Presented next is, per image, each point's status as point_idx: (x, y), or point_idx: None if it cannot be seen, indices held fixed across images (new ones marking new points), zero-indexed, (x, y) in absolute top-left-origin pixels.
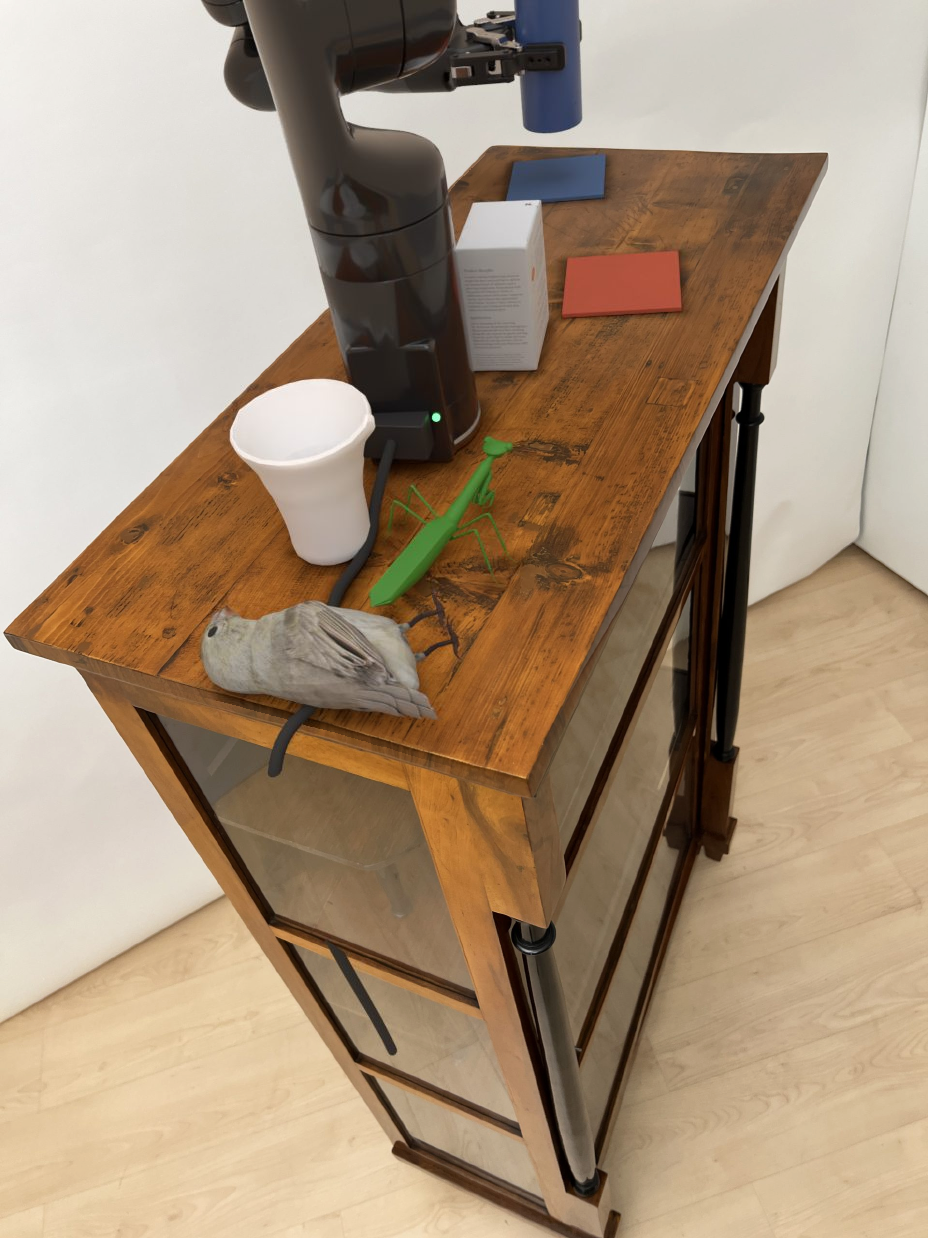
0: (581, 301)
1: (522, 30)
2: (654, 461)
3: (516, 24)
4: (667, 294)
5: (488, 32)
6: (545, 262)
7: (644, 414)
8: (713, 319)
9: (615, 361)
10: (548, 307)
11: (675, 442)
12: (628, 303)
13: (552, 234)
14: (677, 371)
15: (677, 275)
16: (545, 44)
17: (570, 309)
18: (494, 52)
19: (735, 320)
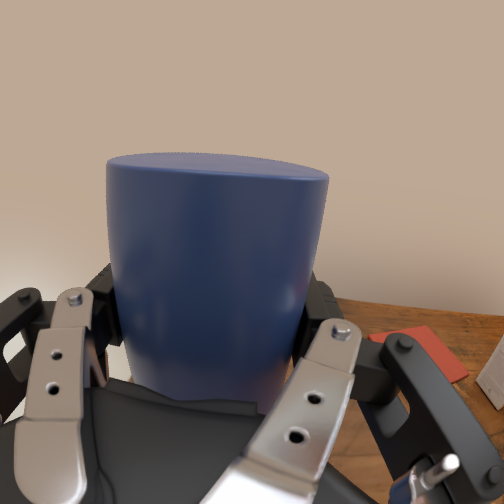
0: (454, 368)
1: (295, 301)
2: (498, 319)
3: (261, 307)
4: (420, 332)
5: (259, 435)
6: (498, 344)
7: (488, 325)
8: (421, 316)
9: (475, 342)
10: (480, 372)
11: (489, 316)
12: (439, 346)
13: (368, 433)
14: (462, 322)
15: (398, 331)
16: (316, 287)
17: (463, 371)
18: (420, 372)
19: (416, 309)
